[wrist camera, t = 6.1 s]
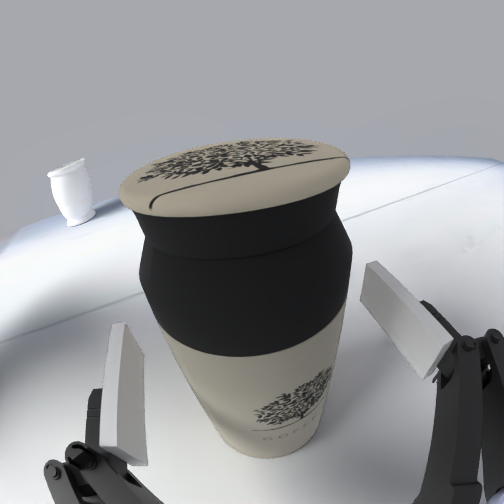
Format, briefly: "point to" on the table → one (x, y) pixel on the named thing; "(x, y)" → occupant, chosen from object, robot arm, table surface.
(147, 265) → the travel mug
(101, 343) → the table surface
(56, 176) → the jar
